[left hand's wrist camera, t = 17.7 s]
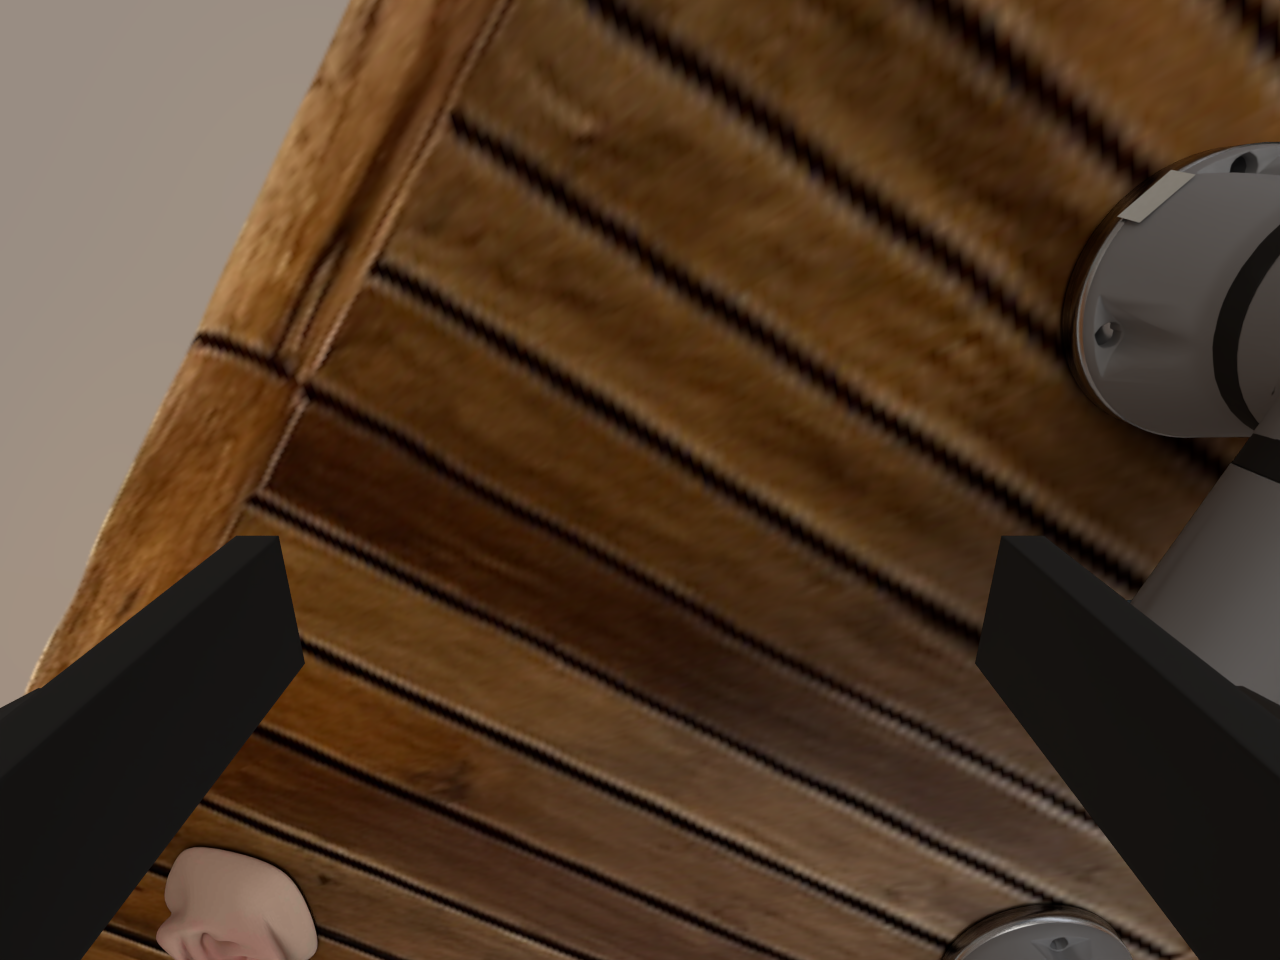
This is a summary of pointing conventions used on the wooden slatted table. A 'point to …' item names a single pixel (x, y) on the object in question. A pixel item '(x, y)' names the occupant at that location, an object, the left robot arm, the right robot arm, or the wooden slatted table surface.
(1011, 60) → the wooden slatted table surface
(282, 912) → the anatomical model
